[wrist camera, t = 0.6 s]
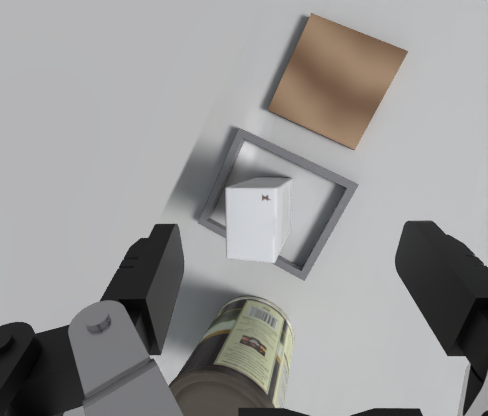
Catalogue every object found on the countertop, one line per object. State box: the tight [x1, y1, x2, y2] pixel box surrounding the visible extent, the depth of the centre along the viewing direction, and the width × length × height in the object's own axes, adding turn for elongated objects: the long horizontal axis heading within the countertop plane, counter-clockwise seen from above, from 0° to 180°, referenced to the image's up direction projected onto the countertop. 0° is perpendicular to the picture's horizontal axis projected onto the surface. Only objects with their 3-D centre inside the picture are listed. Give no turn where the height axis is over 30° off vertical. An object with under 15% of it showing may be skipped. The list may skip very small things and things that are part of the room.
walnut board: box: [268, 13, 408, 150], centre depth 31 cm, size 10×10×1 cm
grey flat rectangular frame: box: [198, 128, 358, 281], centre depth 34 cm, size 12×14×1 cm
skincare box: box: [225, 177, 293, 263], centre depth 29 cm, size 6×4×12 cm
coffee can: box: [169, 296, 294, 416], centre depth 31 cm, size 10×10×14 cm
